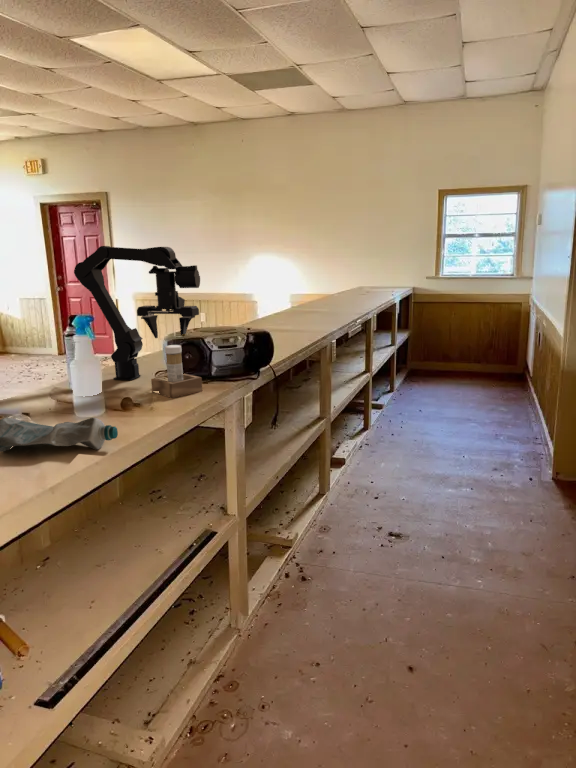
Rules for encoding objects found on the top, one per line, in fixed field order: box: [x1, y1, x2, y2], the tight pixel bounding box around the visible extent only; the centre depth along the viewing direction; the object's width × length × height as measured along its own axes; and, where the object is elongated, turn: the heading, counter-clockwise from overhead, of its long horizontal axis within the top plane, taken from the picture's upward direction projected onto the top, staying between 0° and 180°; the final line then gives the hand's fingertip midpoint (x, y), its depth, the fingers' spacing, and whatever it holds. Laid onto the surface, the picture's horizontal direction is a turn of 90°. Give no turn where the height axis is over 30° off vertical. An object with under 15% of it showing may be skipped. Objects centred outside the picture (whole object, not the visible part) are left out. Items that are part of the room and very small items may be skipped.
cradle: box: [150, 373, 203, 399], centre depth 161 cm, size 10×10×4 cm
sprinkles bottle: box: [164, 344, 184, 383], centre depth 160 cm, size 5×5×14 cm
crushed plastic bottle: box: [0, 417, 119, 453], centre depth 115 cm, size 13×7×25 cm
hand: (169, 338), depth 175 cm, fingers open, 9 cm apart
